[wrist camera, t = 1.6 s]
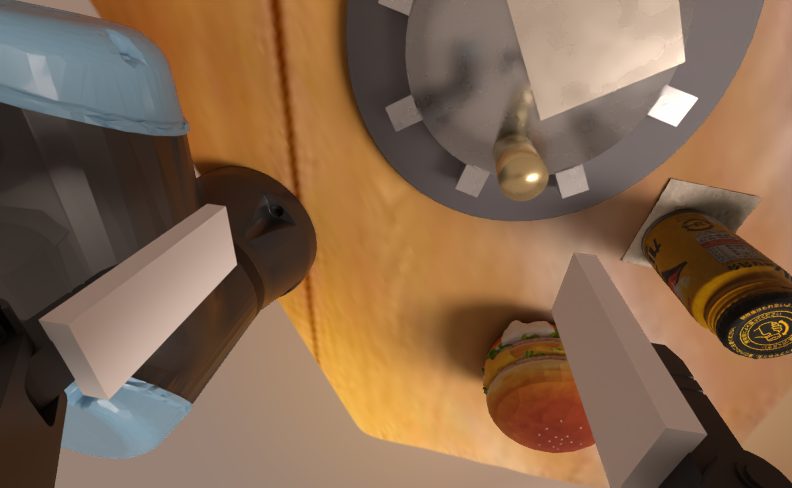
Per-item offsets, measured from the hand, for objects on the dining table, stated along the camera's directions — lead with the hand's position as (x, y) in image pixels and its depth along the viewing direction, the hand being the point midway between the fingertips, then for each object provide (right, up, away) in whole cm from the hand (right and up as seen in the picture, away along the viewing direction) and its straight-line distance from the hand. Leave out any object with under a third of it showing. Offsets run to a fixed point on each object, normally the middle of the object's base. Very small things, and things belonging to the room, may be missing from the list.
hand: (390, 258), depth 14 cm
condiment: (+26, +2, +18) cm, 32 cm away
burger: (+17, -12, +29) cm, 35 cm away
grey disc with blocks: (+10, +15, +12) cm, 21 cm away
